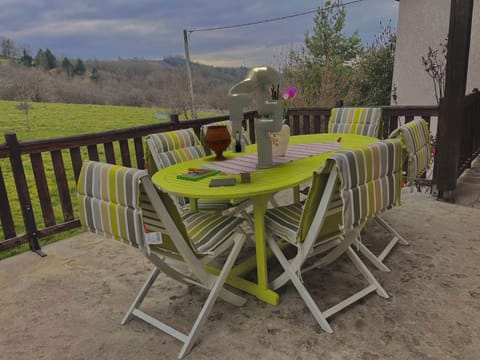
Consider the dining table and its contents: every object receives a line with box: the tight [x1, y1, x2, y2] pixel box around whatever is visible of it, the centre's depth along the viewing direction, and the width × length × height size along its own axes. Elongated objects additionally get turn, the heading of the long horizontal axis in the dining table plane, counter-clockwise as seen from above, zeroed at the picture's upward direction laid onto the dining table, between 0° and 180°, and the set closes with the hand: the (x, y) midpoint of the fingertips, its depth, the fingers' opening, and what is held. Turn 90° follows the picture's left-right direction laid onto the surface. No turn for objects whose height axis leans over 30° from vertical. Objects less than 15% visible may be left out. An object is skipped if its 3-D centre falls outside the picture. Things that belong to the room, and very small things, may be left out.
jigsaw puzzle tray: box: [176, 167, 222, 182], centre depth 231 cm, size 23×2×25 cm
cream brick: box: [231, 141, 246, 154], centre depth 201 cm, size 5×7×5 cm
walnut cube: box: [240, 171, 252, 184], centre depth 205 cm, size 5×5×5 cm
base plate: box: [208, 177, 237, 188], centre depth 206 cm, size 14×14×1 cm
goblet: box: [204, 124, 232, 162], centre depth 272 cm, size 19×19×25 cm
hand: (238, 151), depth 202 cm, fingers closed on cream brick, 5 cm apart
